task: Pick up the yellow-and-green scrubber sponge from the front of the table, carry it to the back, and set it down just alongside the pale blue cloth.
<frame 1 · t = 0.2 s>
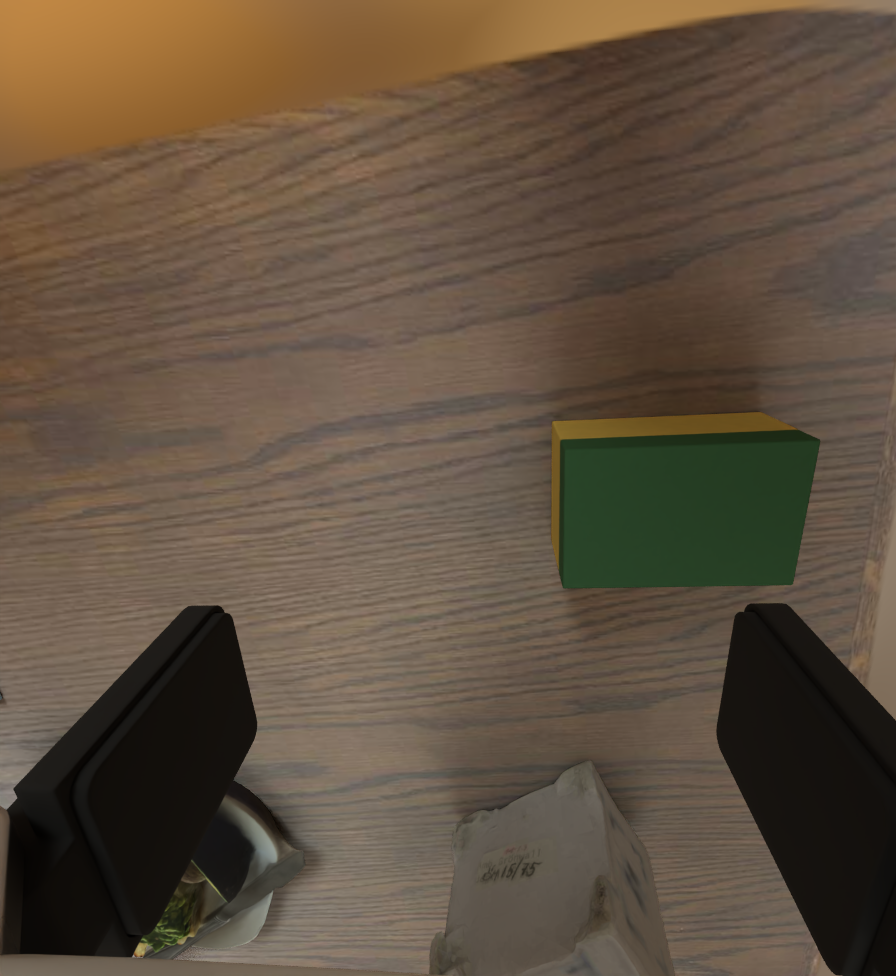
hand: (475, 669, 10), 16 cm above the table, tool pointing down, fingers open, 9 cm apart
salad plate: (174, 834, 36), on the table
incense holder: (541, 812, 33), on the table
scrubber: (649, 479, 24), on the table
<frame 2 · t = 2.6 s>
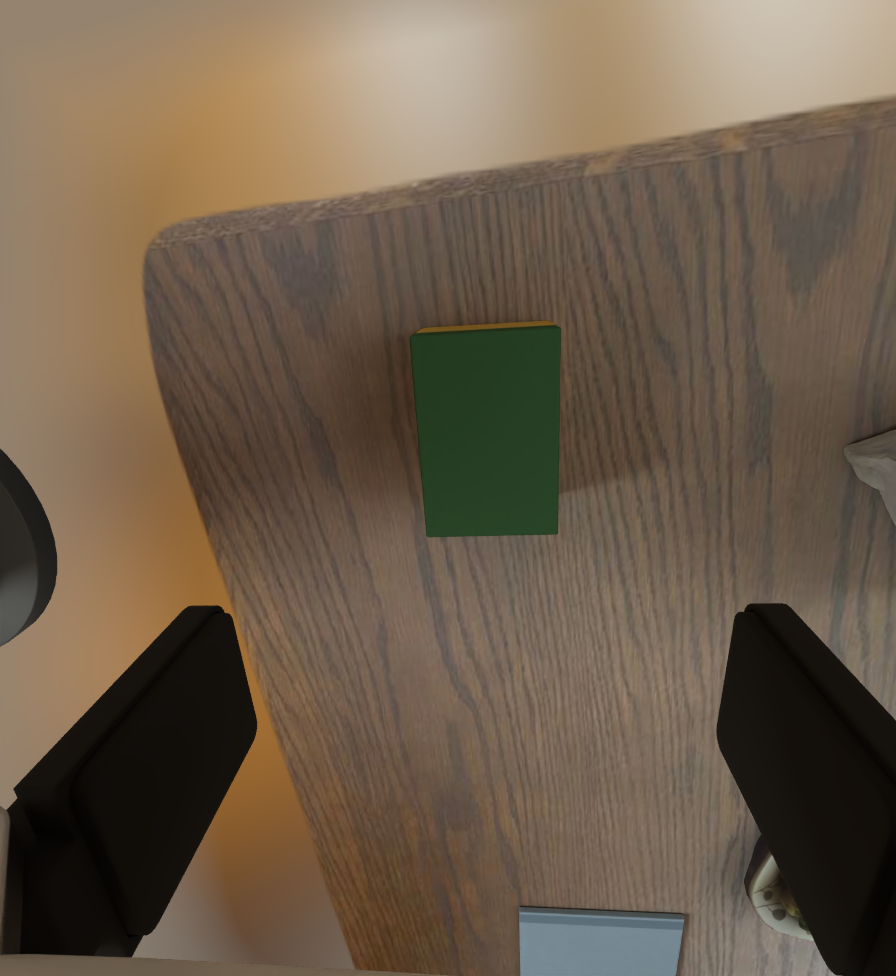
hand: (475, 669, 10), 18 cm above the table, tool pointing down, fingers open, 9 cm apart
salad plate: (880, 841, 35), on the table
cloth: (595, 974, 42), on the table
scrubber: (488, 416, 27), on the table
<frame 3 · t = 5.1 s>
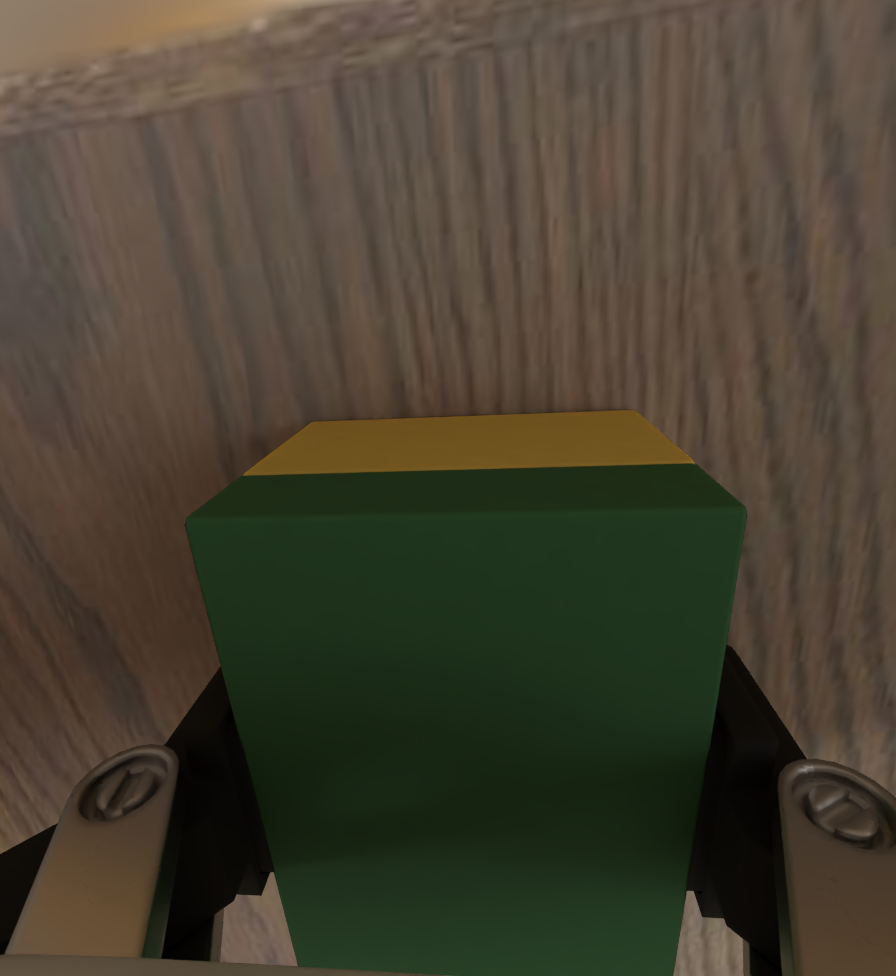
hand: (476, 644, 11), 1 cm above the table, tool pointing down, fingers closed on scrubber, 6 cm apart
scrubber: (477, 620, 11), on the table, touching gripper
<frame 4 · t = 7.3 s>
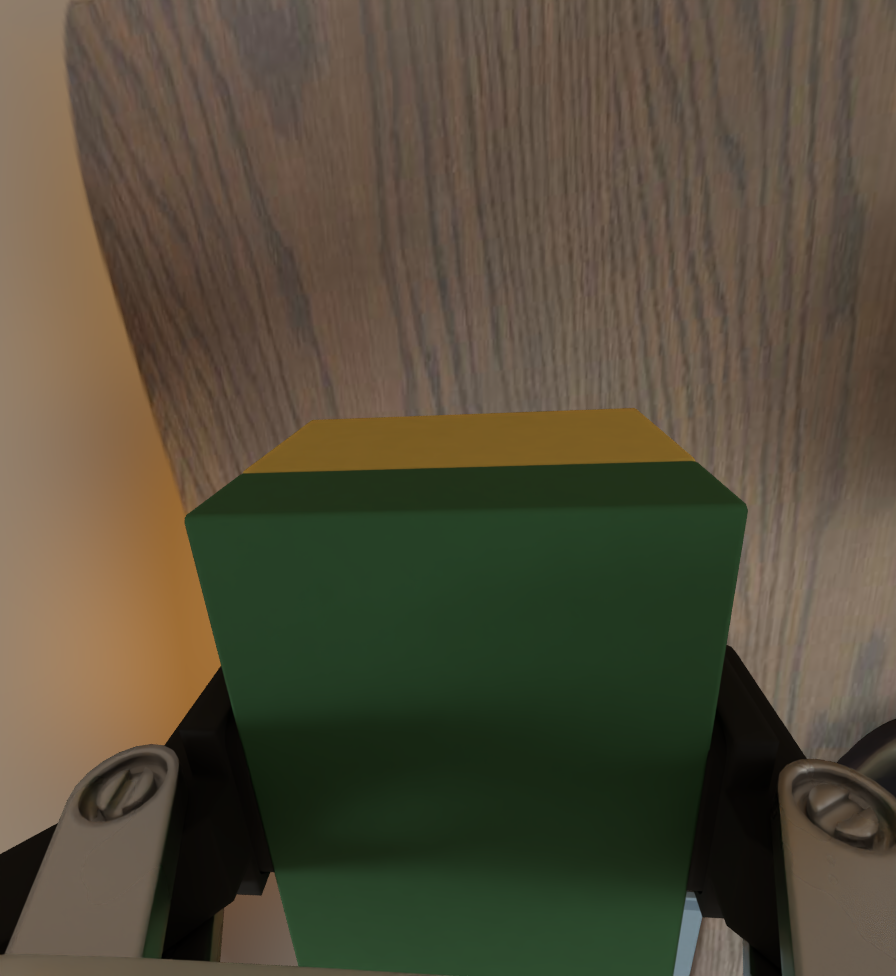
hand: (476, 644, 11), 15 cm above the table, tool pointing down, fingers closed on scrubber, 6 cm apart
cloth: (599, 961, 37), on the table
scrubber: (477, 619, 11), point 14 cm above the table, touching gripper
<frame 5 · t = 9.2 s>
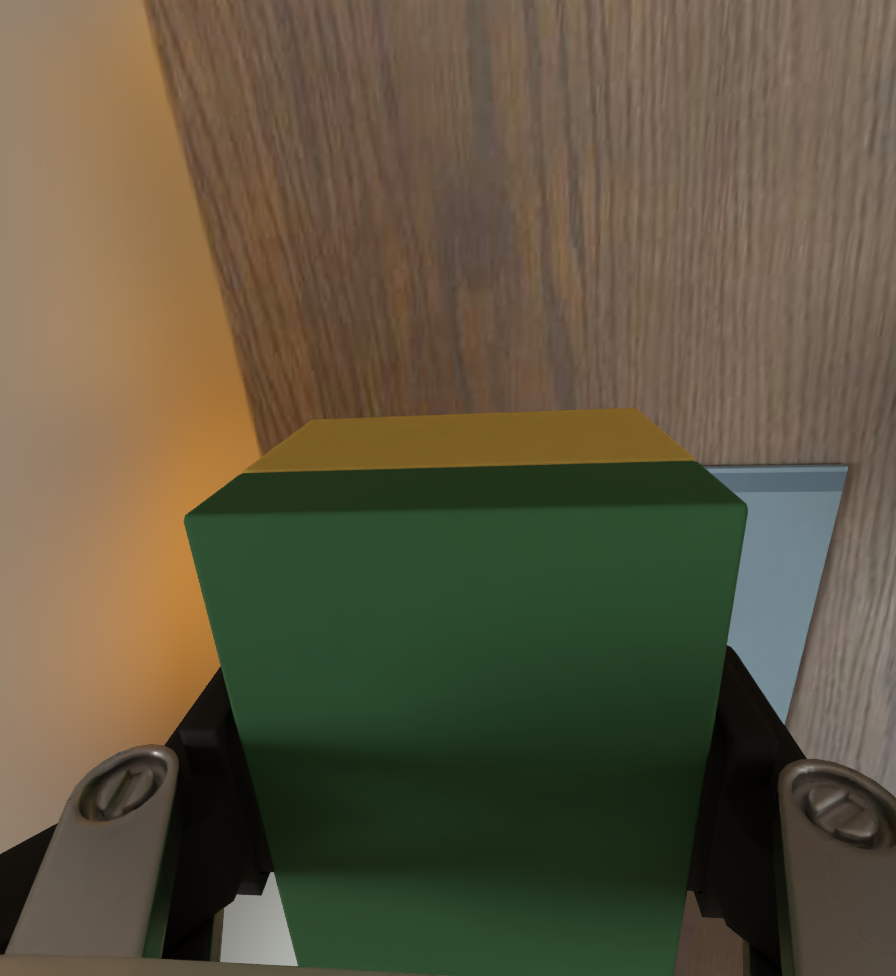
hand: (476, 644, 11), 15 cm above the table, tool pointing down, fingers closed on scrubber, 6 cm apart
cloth: (683, 613, 27), on the table
scrubber: (477, 619, 11), point 14 cm above the table, touching gripper
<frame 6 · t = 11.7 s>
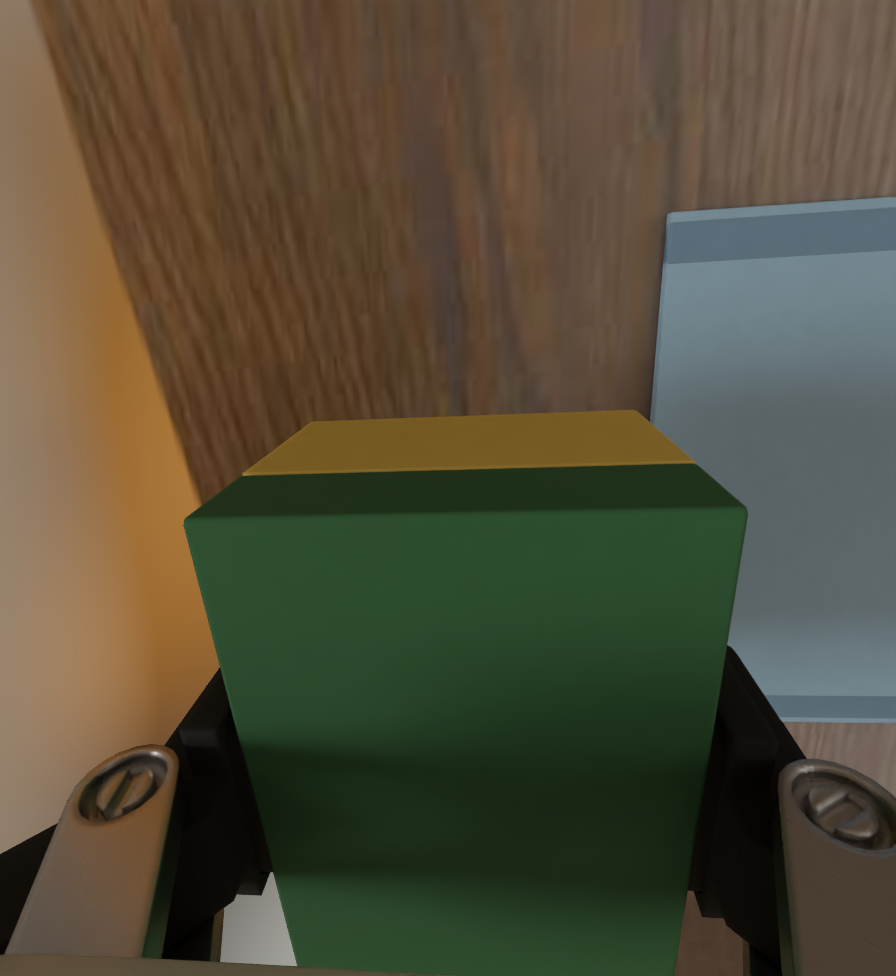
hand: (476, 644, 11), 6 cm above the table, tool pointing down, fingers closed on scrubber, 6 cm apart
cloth: (851, 502, 15), on the table
scrubber: (477, 621, 11), point 6 cm above the table, touching gripper
when the fingers open (1 cm above the table, at t = 13.6 s): scrubber stays where it is, on the table.
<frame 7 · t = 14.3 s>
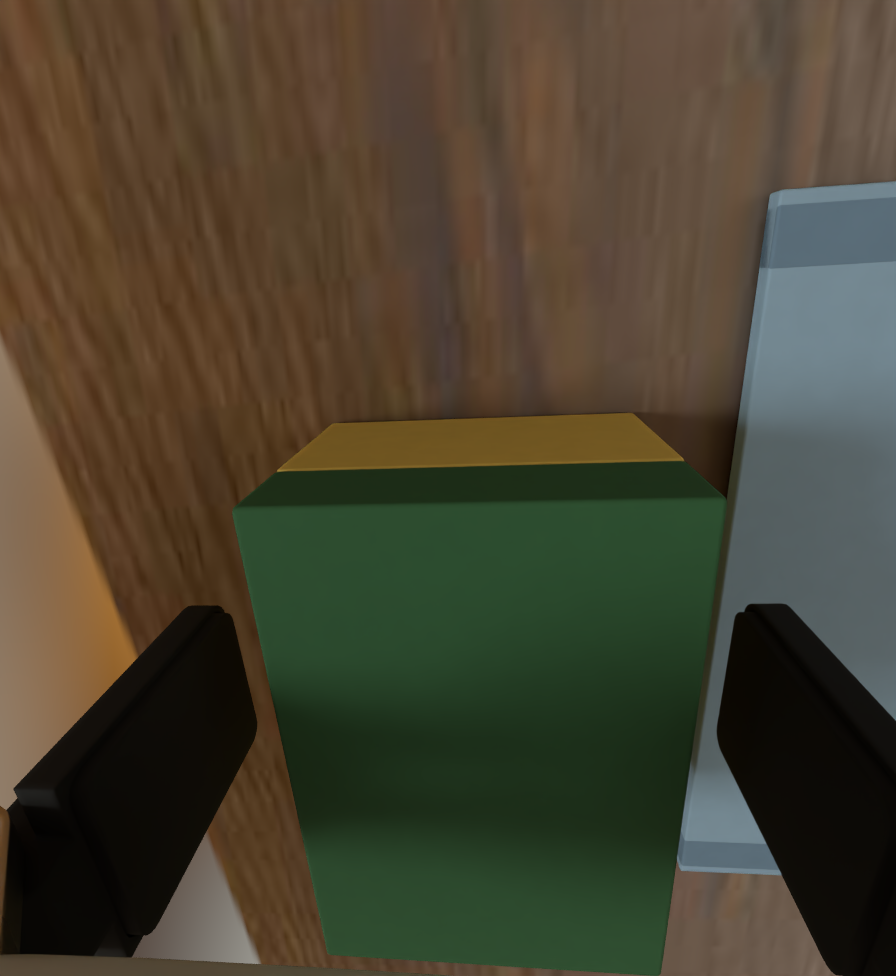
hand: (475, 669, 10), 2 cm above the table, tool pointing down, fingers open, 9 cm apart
scrubber: (485, 610, 12), on the table
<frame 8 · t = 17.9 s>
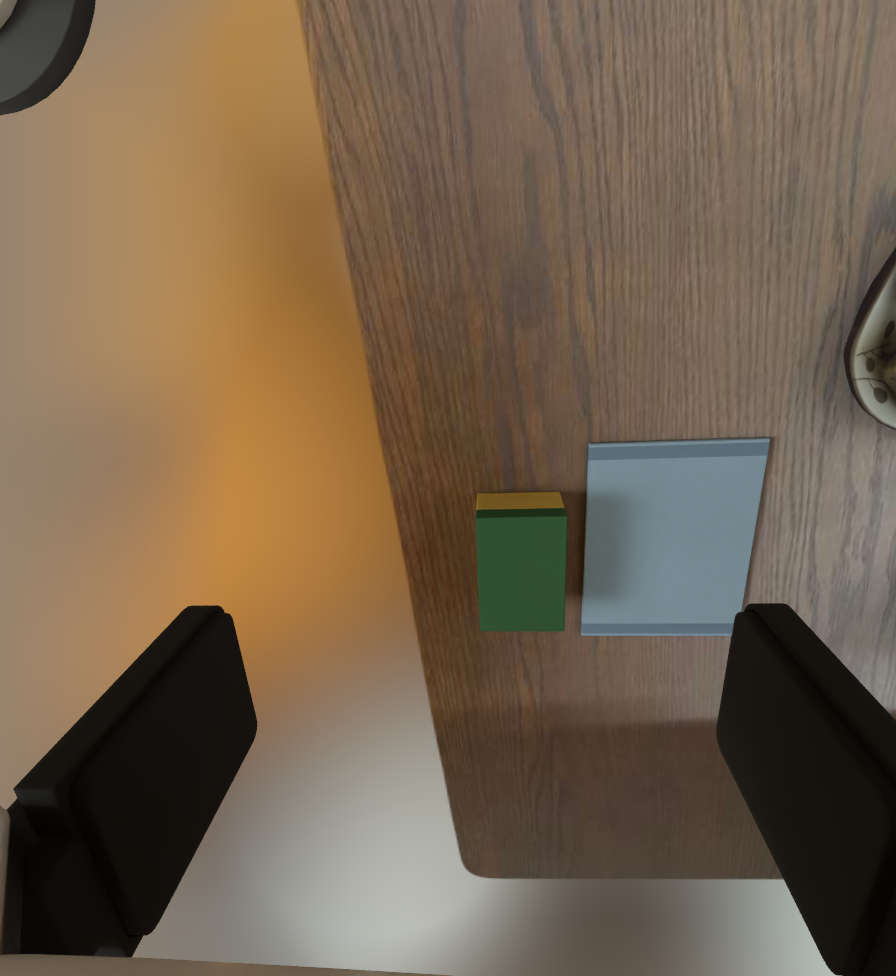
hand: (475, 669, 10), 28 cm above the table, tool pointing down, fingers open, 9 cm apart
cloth: (666, 543, 39), on the table
scrubber: (518, 546, 40), on the table
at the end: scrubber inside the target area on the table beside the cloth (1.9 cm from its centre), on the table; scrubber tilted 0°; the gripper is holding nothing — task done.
